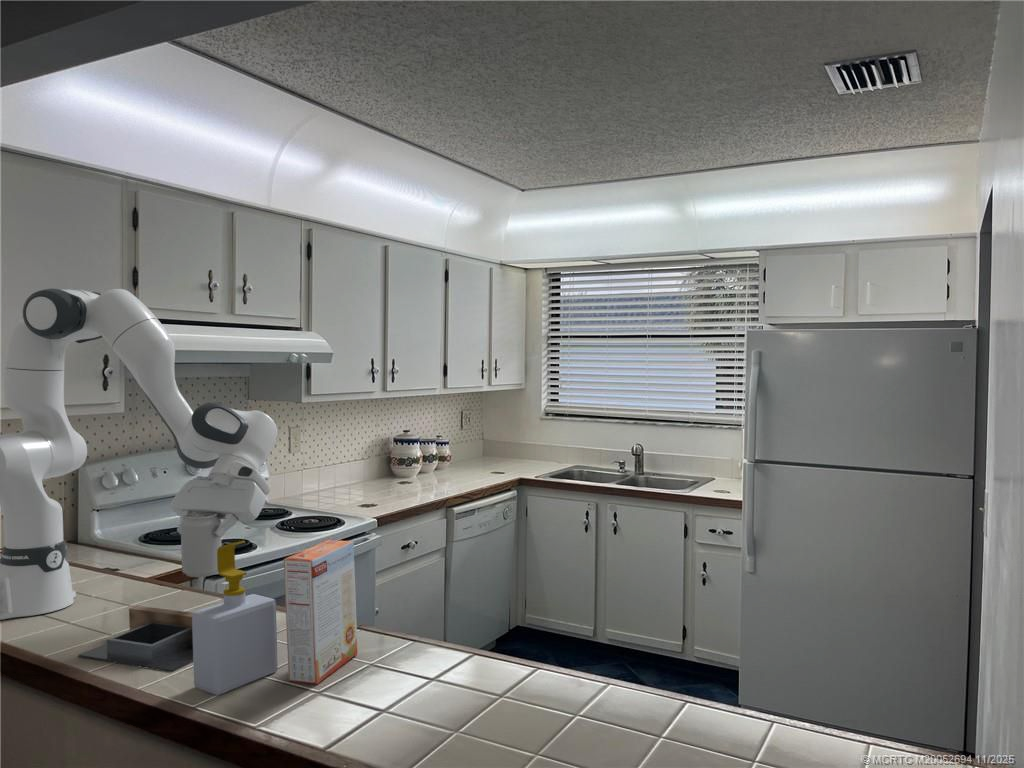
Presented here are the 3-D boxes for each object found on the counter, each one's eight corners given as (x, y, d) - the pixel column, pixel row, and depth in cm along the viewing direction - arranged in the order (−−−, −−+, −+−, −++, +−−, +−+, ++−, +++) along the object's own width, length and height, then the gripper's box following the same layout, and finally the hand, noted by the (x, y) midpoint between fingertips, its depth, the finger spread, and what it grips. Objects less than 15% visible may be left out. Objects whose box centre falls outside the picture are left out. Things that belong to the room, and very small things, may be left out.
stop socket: (78, 656, 144) (77, 638, 144) (131, 635, 155) (131, 617, 155) (172, 672, 136) (171, 652, 136) (221, 647, 147) (220, 629, 147)
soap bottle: (216, 697, 125) (212, 551, 124) (192, 687, 129) (188, 546, 128) (279, 671, 135) (275, 536, 134) (255, 663, 139) (251, 532, 138)
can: (213, 578, 154) (211, 517, 154) (175, 578, 154) (173, 517, 154) (227, 568, 162) (226, 509, 161) (191, 568, 162) (189, 510, 161)
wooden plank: (129, 633, 156) (129, 608, 156) (137, 630, 158) (137, 605, 157) (227, 647, 147) (226, 621, 147) (234, 643, 149) (233, 617, 149)
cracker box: (329, 651, 144) (326, 538, 143) (358, 655, 142) (356, 540, 142) (285, 682, 131) (281, 557, 130) (316, 686, 129) (313, 559, 128)
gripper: (184, 467, 167) (149, 522, 159) (263, 471, 160) (231, 528, 151) (200, 485, 172) (167, 539, 163) (277, 489, 164) (247, 546, 156)
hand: (198, 534), depth 157 cm, fingers closed on can, 7 cm apart
